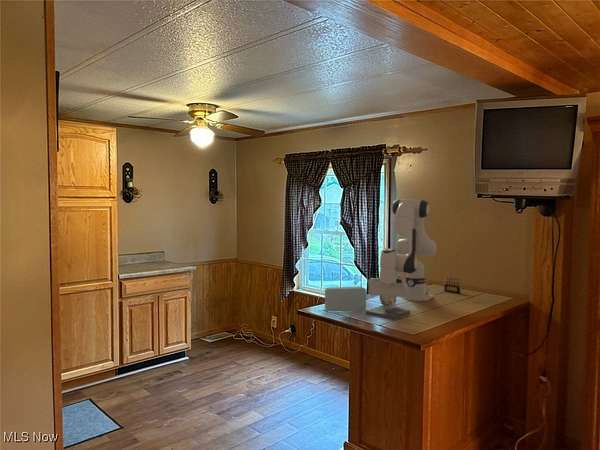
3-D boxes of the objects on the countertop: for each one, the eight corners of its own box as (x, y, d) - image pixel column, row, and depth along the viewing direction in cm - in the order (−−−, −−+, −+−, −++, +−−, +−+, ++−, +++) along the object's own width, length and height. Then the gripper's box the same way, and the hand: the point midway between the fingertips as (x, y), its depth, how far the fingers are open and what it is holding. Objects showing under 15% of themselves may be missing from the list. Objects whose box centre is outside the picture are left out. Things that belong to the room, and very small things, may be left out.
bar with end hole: (327, 312, 253) (327, 289, 253) (324, 310, 259) (325, 287, 258) (366, 311, 258) (366, 288, 257) (362, 308, 264) (363, 286, 263)
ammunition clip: (444, 291, 314) (444, 274, 314) (445, 291, 316) (445, 274, 315) (459, 293, 308) (460, 276, 307) (460, 293, 309) (460, 275, 309)
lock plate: (382, 308, 264) (382, 298, 264) (410, 313, 252) (410, 303, 252) (365, 314, 250) (366, 303, 250) (394, 320, 239) (394, 309, 238)
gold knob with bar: (379, 301, 254) (379, 294, 254) (394, 301, 254) (394, 294, 254) (385, 309, 237) (385, 301, 237) (401, 309, 237) (401, 301, 237)
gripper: (368, 278, 240) (367, 304, 241) (407, 280, 236) (406, 306, 237) (368, 276, 247) (367, 301, 247) (406, 278, 243) (405, 303, 243)
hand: (387, 304), depth 242 cm, fingers closed
